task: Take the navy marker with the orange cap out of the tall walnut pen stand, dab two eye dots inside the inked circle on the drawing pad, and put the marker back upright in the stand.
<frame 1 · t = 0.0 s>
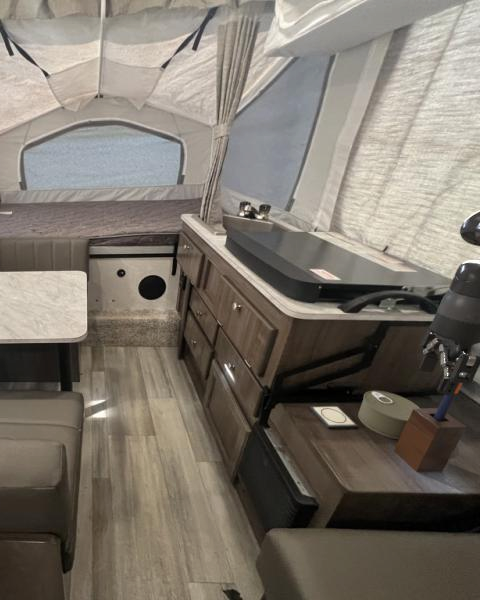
hand: (434, 381, 67), 25 cm above the table, tool pointing down, fingers open, 8 cm apart
marker: (432, 430, 74), point 10 cm above the table, touching pen stand
drawing pad: (332, 417, 92), on the table
can: (384, 424, 89), on the table
pen stand: (417, 460, 78), on the table
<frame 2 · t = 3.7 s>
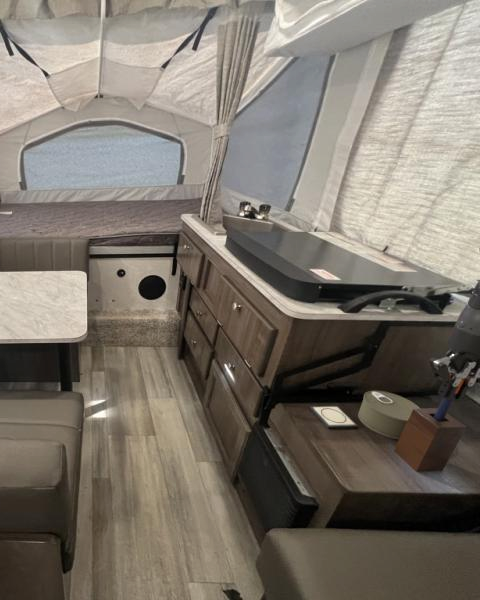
hand: (449, 396, 70), 20 cm above the table, tool pointing down, fingers closed on marker
marker: (432, 430, 74), point 10 cm above the table, touching gripper, pen stand
everything else where it was.
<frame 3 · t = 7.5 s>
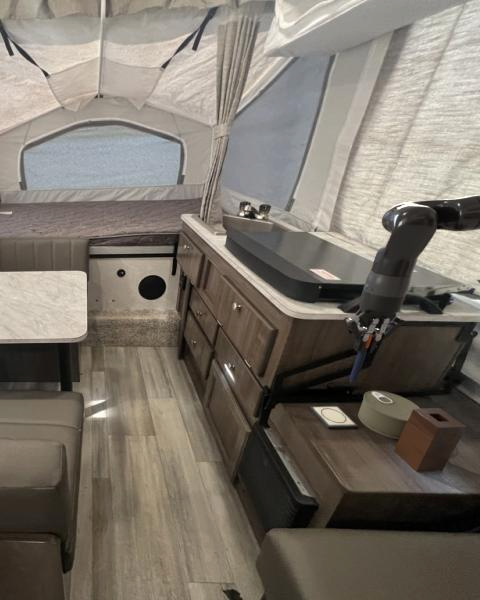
hand: (362, 351, 82), 23 cm above the table, tool pointing down, fingers closed on marker, 1 cm apart
marker: (351, 382, 86), point 13 cm above the table, touching gripper
everything else where it was.
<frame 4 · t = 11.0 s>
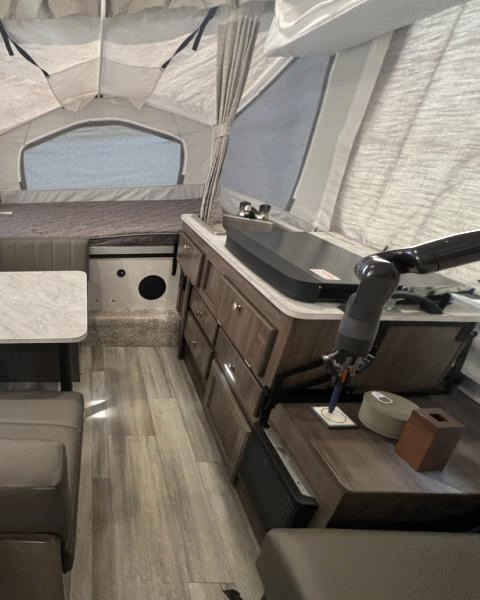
hand: (339, 384, 89), 11 cm above the table, tool pointing down, fingers closed on marker, 1 cm apart
marker: (330, 412, 92), point 1 cm above the table, touching drawing pad, gripper
everything else where it was.
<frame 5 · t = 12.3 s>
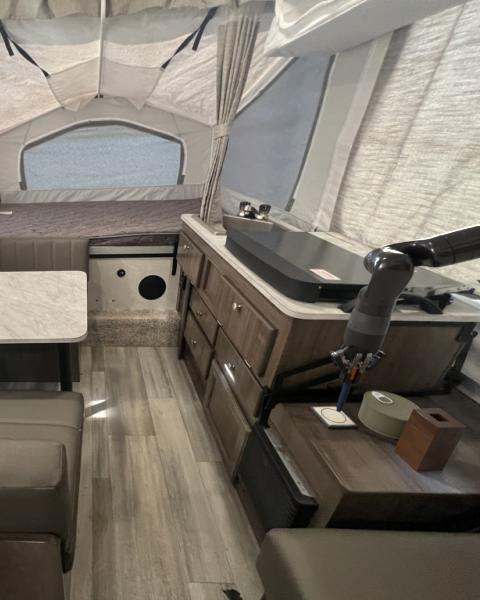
hand: (348, 382, 86), 14 cm above the table, tool pointing down, fingers closed on marker, 1 cm apart
marker: (338, 410, 89), point 4 cm above the table, touching gripper
everything else where it was.
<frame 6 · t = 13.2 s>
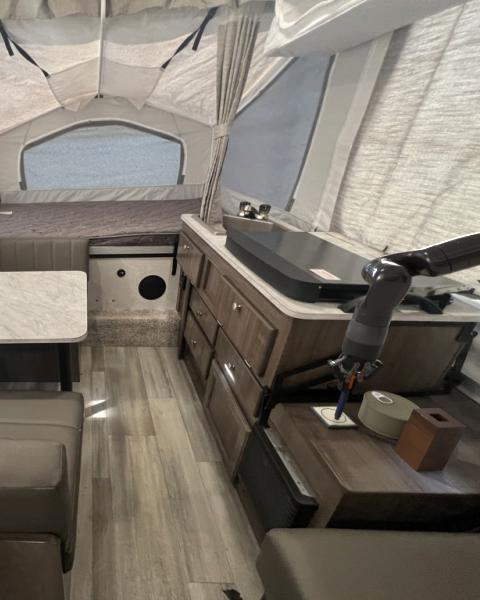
hand: (346, 390, 86), 11 cm above the table, tool pointing down, fingers closed on marker, 1 cm apart
marker: (336, 418, 90), point 1 cm above the table, touching drawing pad, gripper
everything else where it was.
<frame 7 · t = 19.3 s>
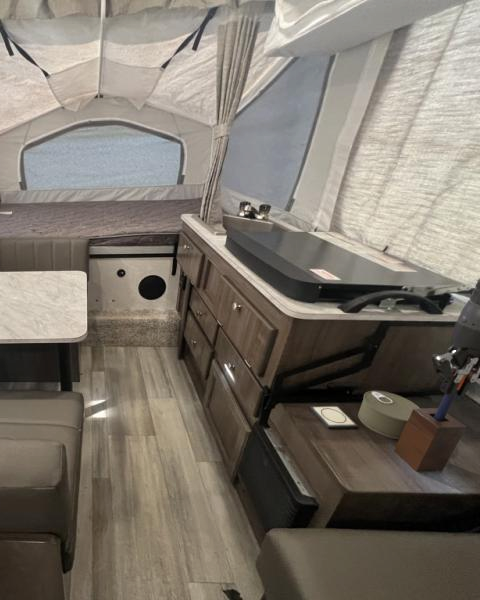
hand: (451, 392, 69), 21 cm above the table, tool pointing down, fingers closed on marker, 1 cm apart
marker: (434, 427, 73), point 11 cm above the table, touching gripper
everything else where it was.
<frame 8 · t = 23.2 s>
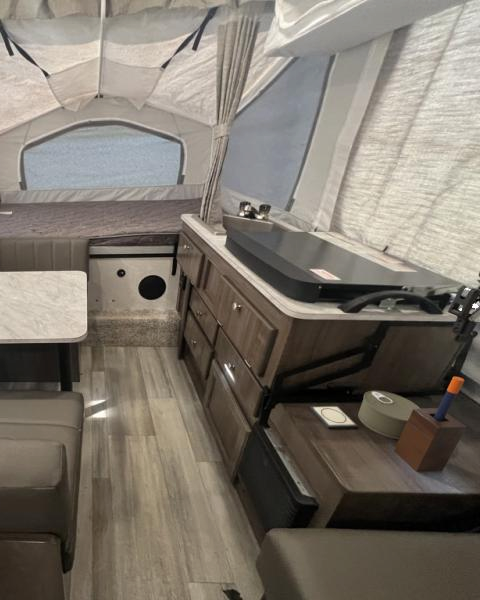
marker: (432, 430, 74), point 10 cm above the table, touching pen stand
everything else where it was.
at the end: marker 0.0 cm off-centre on the pen stand, point 10.0 cm above the pen stand's base; marker tilted 0°; marker touching pen stand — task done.
